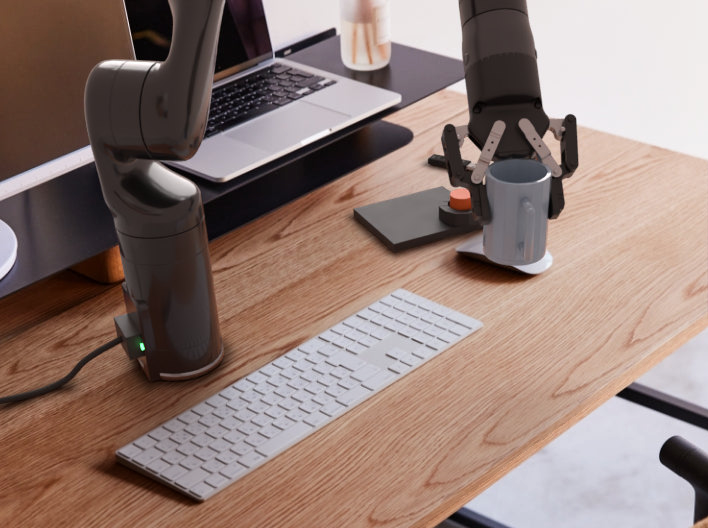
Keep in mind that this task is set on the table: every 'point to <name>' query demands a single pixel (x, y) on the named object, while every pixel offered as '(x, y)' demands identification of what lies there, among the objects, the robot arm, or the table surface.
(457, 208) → the warmer button
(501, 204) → the mug
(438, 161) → the usb flash drive
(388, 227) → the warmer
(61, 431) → the table surface
